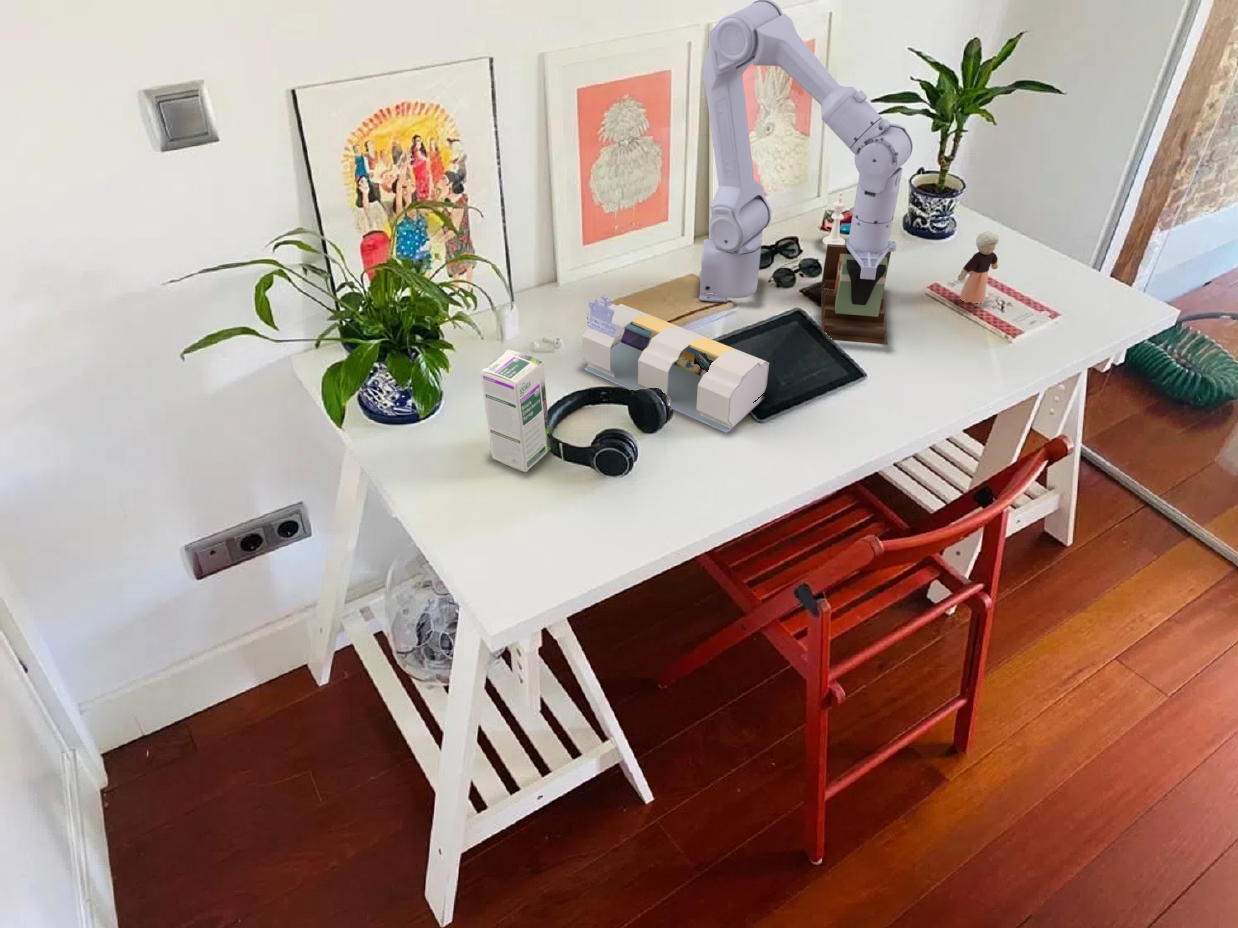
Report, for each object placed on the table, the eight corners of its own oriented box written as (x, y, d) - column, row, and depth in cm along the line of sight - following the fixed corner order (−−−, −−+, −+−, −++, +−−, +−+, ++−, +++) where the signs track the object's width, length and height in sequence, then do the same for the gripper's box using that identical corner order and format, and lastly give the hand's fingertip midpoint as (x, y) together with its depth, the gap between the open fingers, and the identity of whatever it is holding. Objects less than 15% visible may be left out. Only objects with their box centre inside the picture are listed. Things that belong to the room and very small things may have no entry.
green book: (835, 313, 151) (843, 263, 146) (834, 303, 153) (842, 253, 148) (878, 317, 150) (887, 267, 145) (877, 306, 153) (887, 257, 147)
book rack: (819, 344, 152) (826, 299, 147) (821, 287, 165) (827, 243, 159) (886, 350, 151) (896, 304, 145) (882, 292, 163) (891, 248, 158)
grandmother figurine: (966, 316, 157) (985, 244, 149) (947, 306, 160) (964, 235, 151) (996, 300, 161) (1015, 229, 153) (976, 291, 163) (994, 220, 155)
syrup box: (526, 474, 129) (518, 383, 120) (490, 459, 132) (479, 369, 122) (551, 450, 133) (545, 360, 124) (515, 435, 135) (507, 346, 126)
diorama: (583, 370, 147) (580, 293, 139) (625, 339, 153) (625, 263, 145) (726, 433, 136) (732, 354, 127) (765, 397, 142) (774, 319, 133)
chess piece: (818, 251, 174) (826, 198, 167) (819, 238, 177) (826, 185, 171) (847, 254, 173) (856, 200, 166) (847, 240, 177) (855, 187, 170)
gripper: (904, 241, 136) (887, 325, 144) (899, 194, 146) (883, 275, 155) (852, 237, 136) (838, 321, 145) (850, 190, 147) (837, 271, 156)
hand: (858, 297), depth 150 cm, fingers closed on green book, 3 cm apart
